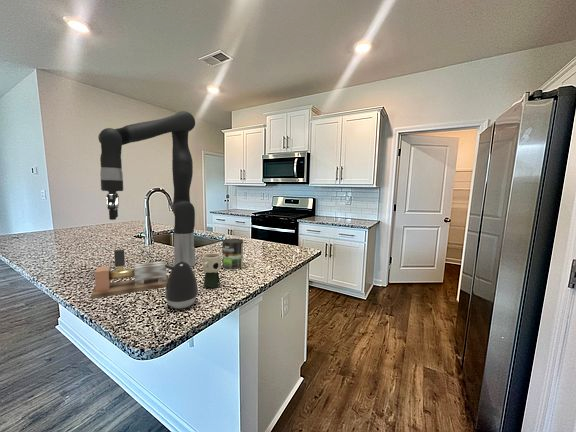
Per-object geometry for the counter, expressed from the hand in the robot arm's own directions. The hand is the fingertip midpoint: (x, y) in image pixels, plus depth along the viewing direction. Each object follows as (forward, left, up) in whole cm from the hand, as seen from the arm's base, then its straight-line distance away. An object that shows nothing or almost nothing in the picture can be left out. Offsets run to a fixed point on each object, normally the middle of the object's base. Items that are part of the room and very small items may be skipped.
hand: (113, 218), depth 103 cm
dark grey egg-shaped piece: (-21, +38, -26) cm, 51 cm away
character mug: (-34, +26, -26) cm, 50 cm away
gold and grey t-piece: (-3, +14, -22) cm, 26 cm away
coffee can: (-49, +7, -26) cm, 56 cm away
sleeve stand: (-6, +14, -26) cm, 30 cm away
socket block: (+3, +14, -25) cm, 28 cm away
